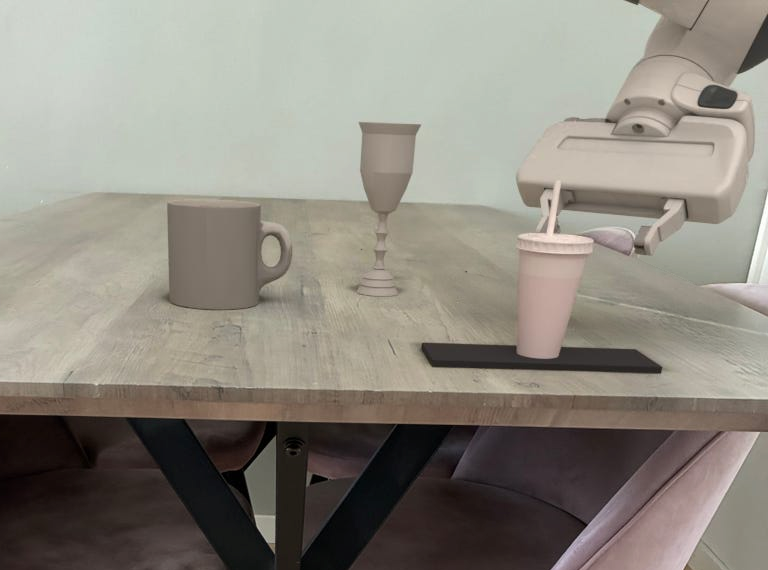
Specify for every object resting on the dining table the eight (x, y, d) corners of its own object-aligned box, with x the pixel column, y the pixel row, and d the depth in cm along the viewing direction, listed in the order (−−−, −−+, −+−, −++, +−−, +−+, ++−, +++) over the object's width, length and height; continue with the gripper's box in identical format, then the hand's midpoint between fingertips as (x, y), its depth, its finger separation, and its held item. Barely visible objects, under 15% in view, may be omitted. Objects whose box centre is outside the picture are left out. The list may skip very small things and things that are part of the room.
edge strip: (634, 355, 89) (635, 349, 88) (661, 373, 83) (662, 366, 82) (420, 349, 88) (421, 342, 88) (432, 366, 82) (432, 359, 82)
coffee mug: (160, 306, 102) (157, 204, 97) (180, 291, 111) (178, 197, 106) (284, 313, 101) (287, 210, 96) (294, 298, 110) (297, 203, 105)
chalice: (379, 285, 119) (391, 122, 111) (418, 294, 115) (434, 125, 106) (335, 290, 115) (345, 121, 106) (375, 299, 111) (388, 123, 102)
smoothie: (514, 343, 89) (539, 176, 82) (582, 352, 86) (613, 181, 79) (490, 355, 84) (514, 179, 77) (562, 365, 81) (593, 184, 74)
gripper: (546, 91, 90) (480, 208, 89) (770, 95, 79) (700, 229, 77) (559, 144, 96) (497, 256, 94) (772, 155, 84) (706, 282, 82)
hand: (591, 244), depth 85 cm, fingers open, 8 cm apart
